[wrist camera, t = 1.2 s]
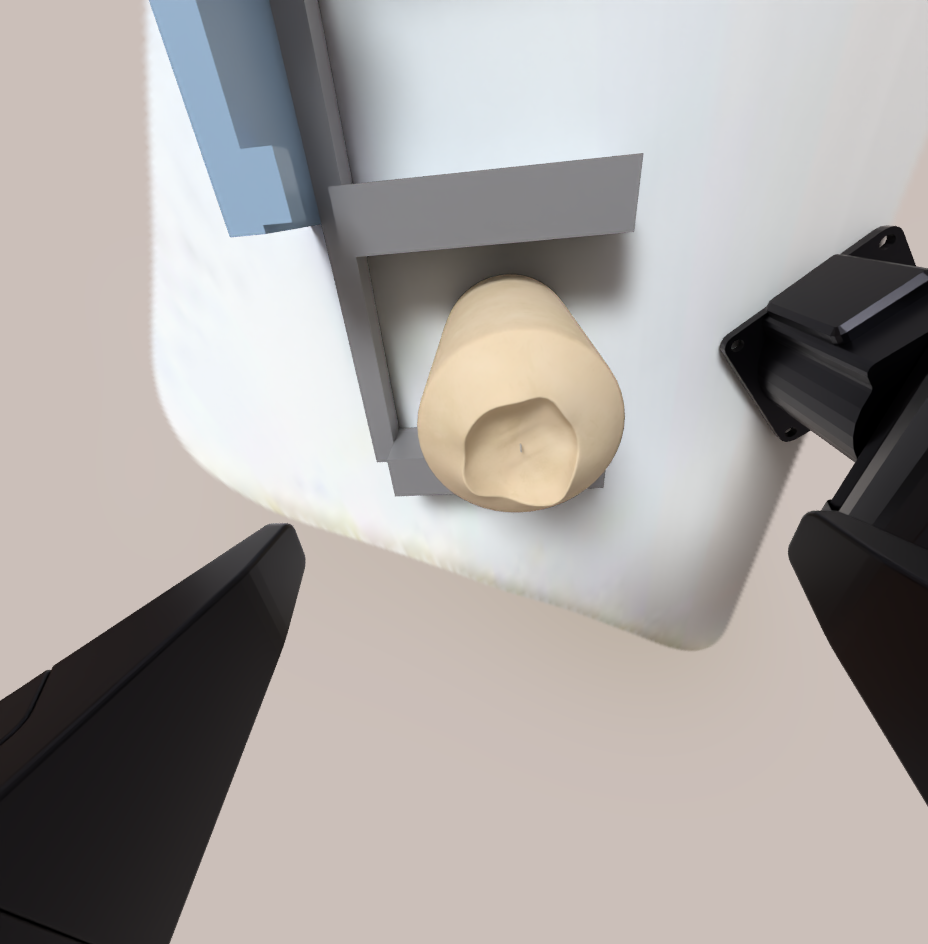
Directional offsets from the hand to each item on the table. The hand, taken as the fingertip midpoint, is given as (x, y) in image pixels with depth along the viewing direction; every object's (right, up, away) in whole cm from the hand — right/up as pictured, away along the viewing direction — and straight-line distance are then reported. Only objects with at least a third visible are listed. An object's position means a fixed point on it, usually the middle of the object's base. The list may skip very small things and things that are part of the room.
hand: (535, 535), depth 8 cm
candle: (+1, +7, +11) cm, 13 cm away
